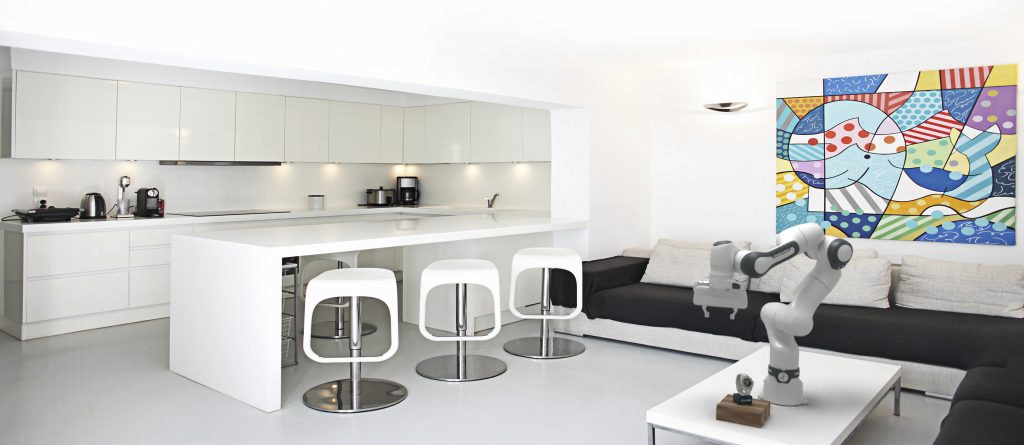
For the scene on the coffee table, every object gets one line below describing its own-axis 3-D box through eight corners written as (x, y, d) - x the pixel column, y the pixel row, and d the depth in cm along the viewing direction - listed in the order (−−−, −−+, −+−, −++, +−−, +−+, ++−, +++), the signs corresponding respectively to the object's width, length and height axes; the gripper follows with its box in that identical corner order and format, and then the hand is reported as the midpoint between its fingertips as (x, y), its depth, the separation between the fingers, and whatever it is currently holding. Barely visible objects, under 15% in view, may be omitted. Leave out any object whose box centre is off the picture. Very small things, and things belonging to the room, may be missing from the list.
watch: (741, 406, 268) (742, 377, 267) (730, 399, 276) (731, 371, 275) (755, 406, 269) (756, 377, 268) (744, 398, 277) (745, 370, 276)
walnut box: (727, 409, 284) (728, 394, 283) (769, 416, 275) (770, 401, 275) (715, 420, 270) (716, 405, 270) (760, 429, 262) (760, 413, 261)
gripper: (692, 281, 281) (691, 317, 282) (747, 285, 274) (746, 321, 275) (694, 279, 287) (693, 314, 288) (748, 283, 280) (747, 318, 281)
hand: (719, 318), depth 281 cm, fingers open, 8 cm apart
